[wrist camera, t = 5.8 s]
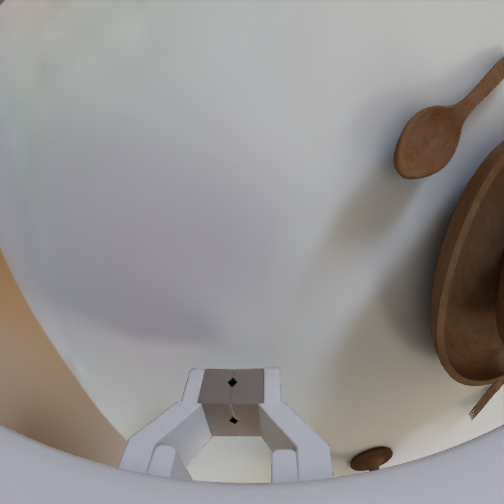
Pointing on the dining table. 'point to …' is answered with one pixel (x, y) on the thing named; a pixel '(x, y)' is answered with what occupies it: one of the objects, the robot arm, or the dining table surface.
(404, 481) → the robot arm
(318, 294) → the dining table surface
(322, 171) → the dining table surface
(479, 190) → the place setting
